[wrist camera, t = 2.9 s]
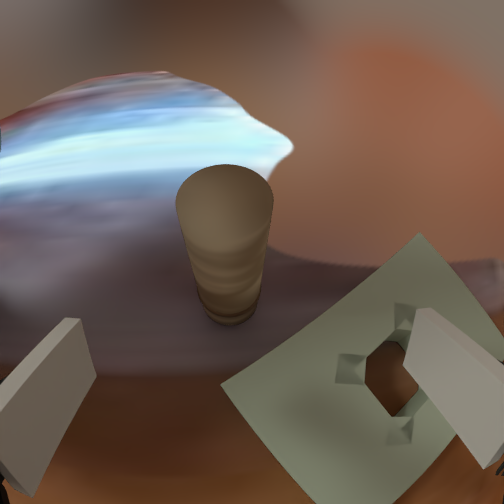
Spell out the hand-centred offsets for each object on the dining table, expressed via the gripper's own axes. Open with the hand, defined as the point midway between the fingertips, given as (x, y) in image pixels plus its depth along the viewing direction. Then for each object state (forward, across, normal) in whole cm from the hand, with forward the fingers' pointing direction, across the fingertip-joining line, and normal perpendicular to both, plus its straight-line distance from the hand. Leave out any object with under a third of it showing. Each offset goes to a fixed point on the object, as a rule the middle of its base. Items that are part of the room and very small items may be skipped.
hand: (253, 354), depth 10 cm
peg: (+12, -1, -3) cm, 12 cm away
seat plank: (+7, +10, -8) cm, 15 cm away
